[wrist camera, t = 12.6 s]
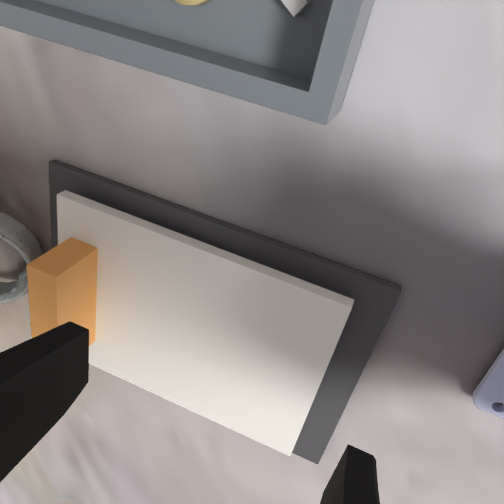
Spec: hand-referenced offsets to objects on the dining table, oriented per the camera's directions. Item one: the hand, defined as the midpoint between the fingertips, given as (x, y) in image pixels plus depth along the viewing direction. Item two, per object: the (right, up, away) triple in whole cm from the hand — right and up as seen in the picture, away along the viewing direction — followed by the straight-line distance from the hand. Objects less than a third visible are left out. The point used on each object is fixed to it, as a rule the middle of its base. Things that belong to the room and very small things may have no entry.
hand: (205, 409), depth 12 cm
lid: (-2, 0, +11) cm, 11 cm away
